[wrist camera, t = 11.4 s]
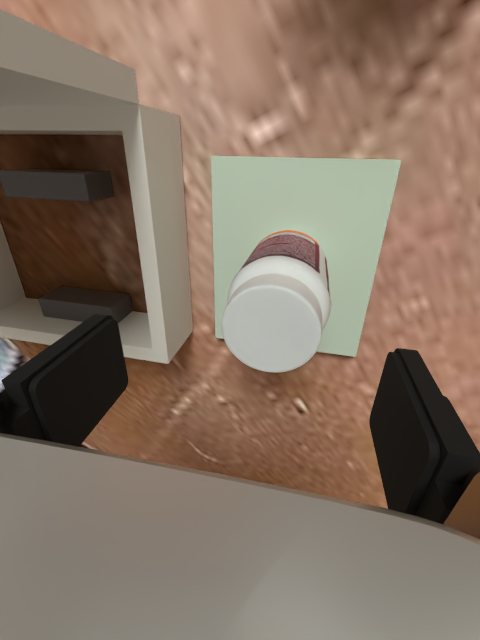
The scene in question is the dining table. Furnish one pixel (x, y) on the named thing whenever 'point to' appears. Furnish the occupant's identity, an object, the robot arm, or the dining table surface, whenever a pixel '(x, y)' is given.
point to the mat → (306, 226)
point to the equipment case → (95, 188)
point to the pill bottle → (278, 303)
